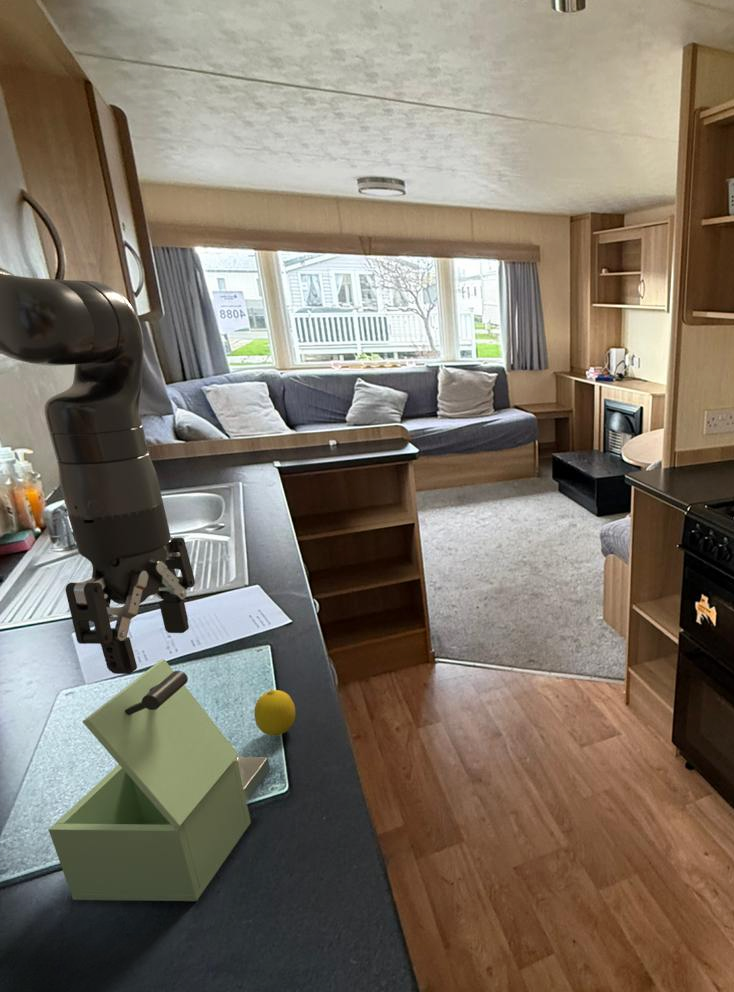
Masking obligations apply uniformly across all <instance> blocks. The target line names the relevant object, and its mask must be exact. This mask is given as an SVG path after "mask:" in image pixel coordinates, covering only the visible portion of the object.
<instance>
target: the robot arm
mask: <svg viewBox="0 0 734 992" xmlns="http://www.w3.org/2000/svg"><path fill="white" fill-rule="evenodd" d="M0 354H1V355H4V356H6V357H8V358H10V359H13V360H16V361H20V362H23V363H28V364H33V365H40V366H49V367H50V366H51V367H58V366H59V367H61V366H74V373H73V382H72V384H71V386H70V387H69V388H67V389H66V390H64V391H61V392H60V393H58V394H55V395H53V396H51V397H50V398H49V399H48V400H47V401H46V402H45V404H44V409H43V411H44V417H45V422H46V426H47V431H48V432H49V437H50V440H51V444H52V448H53V451H54V456H55V459H56V463H57V468H58V475H59V477H58V479H59V486H60V490H61V494H62V497H63V502H64V504H65V508H66V512H67V515H68V520H69V523H70V526H71V530H72V534H73V538H74V541H75V544H76V548H77V551H78V553H79V555H80V556H82V557H84V558H85V559H87V560H88V561H89V562H90V563H91V566H92V573H91V578H89V579H87V580H85V581H80V582H79V581H78V582H68V583H67V584H66V585H65V595H66V599H67V603H68V606H69V607H68V608H69V612H70V617H71V620H72V625H73V629H74V633H75V637H76V641H77V643H78V644H81V645H82V644H83V645H87V644H89V645H90V644H91V645H100V647H101V650H102V653H103V658H104V661H105V665H106V668H107V669H108V671H109V672H111V673H112V674H114V675H131V674H132V673H133V672H135V671H136V670H137V669H138V663H137V660H136V656H135V653H134V649H133V645H132V642H131V638H130V637H129V636H128V633H129V629H130V625H131V622H132V621H131V620H132V619H133V618H135V617H137V615H138V612H139V608H140V605H141V604H142V603H144V602H146V600H147V599H148V597H150V596H155V597H157V598H158V599H159V600H160V601H159V602H158V605H159V609H160V613H161V617H162V621H163V626H164V630H165V631H166V632H167V633H168V634H184V633H185V632H187V631H188V630H189V629H190V625H189V618H188V613H187V609H186V604H185V599H186V598H187V593H188V592H187V590H188V589H189V588H190V589H191V588H193V587H194V586H195V584H196V580H195V575H194V571H193V567H192V564H191V561H190V560H191V559H190V556H189V553H188V549H187V545H186V541H185V538H184V537H172V535H171V531H170V527H169V522H168V518H167V513H166V509H165V504H164V501H163V496H162V491H161V487H160V484H159V479H158V474H157V471H156V469H155V466H154V464H153V461H152V458H151V456H150V452H149V448H148V442H147V439H146V434H145V430H144V429H145V428H144V426H143V421H142V417H141V413H140V402H141V395H142V381H143V367H144V365H143V364H144V334H143V329H142V326H141V322H140V319H139V317H138V315H137V313H136V310H135V309H134V307H133V306H132V305H131V303H130V301H128V299H127V298H126V297H125V296H124V295H123V294H122V293H121V292H120V291H119V290H117V289H115V288H114V287H112V286H110V285H108V284H106V283H104V282H103V283H102V282H99V281H91V280H70V279H57V278H55V279H53V278H37V277H27V276H21V275H20V276H19V275H15V274H14V273H12V272H10V271H8V270H6V269H4V268H2V267H0ZM176 570H179V571H180V573H181V576H177V573H176ZM111 602H114V603H115V604H118V605H123V606H115V607H114V606H111ZM113 618H116V622H115V626H114V627H112V626H111V621H112V619H113ZM90 622H92V623H93V625H94V627H93V629H92V628H91V625H90Z"/></svg>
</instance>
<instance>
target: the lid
mask: <svg viewBox="0 0 734 992" xmlns="http://www.w3.org/2000/svg"><path fill="white" fill-rule="evenodd" d="M188 680H189V677H188V675H187V674H186V673H185V672H184V671H182V670H175V671H174V669H173V668H172V667H171V666H170V664H169V663H168V662H167V661H166V659H165V658H163V659H161V660H158V661H157V662H156V663H155V664H153V665H152V666H151V667H149V669H147V670H146V671H145V672H143V673H142V674H140V675H139V676H138V677H137V678H136V679H134V680H133V681H132V682H131V683H129V684H128V685H127V686H125V687H124V688H123V689H121V690H120V691H119V692H118V693H116V694H115V695H114V696H112V697H111V698H110V699H109V700H107V701H106V702H105V703H104V704H102V705H101V706H100V707H98V708H97V709H96V710H95V711H94V712H92V713H91V714H90V715H89V716H87V717H86V718H85V719H83V720H82V724H83V725H84V726H85V727H86V728H87V729H88V730H89V731H90V733H91V734H92V735H93V736H94V737H95V738H96V740H97V741H98V742H99V744H101V745H102V747H104V748H105V750H106V751H107V753H109V755H110V756H111V757H112V758H113V760H115V761H116V764H117V765H118V764H119V765H120V766H121V767H122V768H123V770H124V771H125V772H126V773H127V774H128V775H129V777H130V778H131V779H132V780H133V781H134V782H135V783H136V785H137V786H138V787H139V788H140V789H141V790H142V792H143V793H144V794H145V795H146V796H147V797H148V799H149V800H150V801H151V802H152V803H153V804H154V806H155V807H156V808H157V809H158V810H159V811H160V812H161V814H162V815H163V816H164V817H165V818H166V819H167V821H168V822H169V823H170V824H171V825H172V826H173V828H176V827H179V826H180V825H181V824H182V823H183V822H184V820H185V819H186V818H187V817H188V816H189V814H190V813H191V812H192V811H193V809H194V808H195V807H196V806H197V805H198V803H199V802H200V801H201V800H202V799H203V797H204V796H205V795H206V794H207V792H208V791H209V790H210V789H211V788H212V786H213V785H214V784H215V783H216V782H217V780H218V779H219V778H220V777H221V775H222V774H223V773H224V772H225V771H226V769H227V768H228V767H229V766H230V765H231V763H232V762H233V761H234V760H235V758H236V757H237V756H238V757H239V752H238V751H237V750H236V749H235V747H234V746H233V745H232V744H231V742H230V741H229V740H228V739H227V737H226V736H225V735H224V734H223V732H222V731H221V730H220V728H219V727H218V726H217V724H216V723H215V722H214V720H212V718H211V716H210V715H209V714H208V713H207V712H206V711H205V709H204V708H203V707H202V705H201V704H200V702H199V701H198V700H197V698H195V696H194V695H193V694H192V693H191V691H190V690H189V689H188V688H187V686H186V684H187V683H188Z"/></svg>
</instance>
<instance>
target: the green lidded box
mask: <svg viewBox="0 0 734 992" xmlns="http://www.w3.org/2000/svg"><path fill="white" fill-rule="evenodd" d="M248 807H249V806H248V801H247V802H246V798H245V793H244V789H243V784H242V780H241V775H240V770H239V766H238V761H237V759H235V760H234V761H233V762H232V763H231V765H230V766H229V767H228V768H227V769H226V771H225V772H224V773H223V774H222V775H221V777H220V778H219V779H218V780H217V782H216V783H215V784H214V785H213V786H212V788H211V789H210V790H209V791H208V792H207V794H206V795H205V796H204V797H203V799H202V800H201V801H200V802H199V803H198V805H197V806H196V807H195V808H194V809H193V811H192V812H191V813H190V814H189V816H188V817H187V818H186V819H185V820H184V822H183V823H182V824H181V825H180V826H179V827H176V828H173V826H172V825H171V824H170V823H169V822H168V821H167V819H166V818H165V817H164V816H163V815H162V814H161V812H160V811H159V810H158V809H157V808H156V807H155V806H154V804H153V803H152V802H151V801H150V800H149V799H148V797H147V796H146V795H145V794H144V793H143V792H142V790H141V789H140V788H139V787H138V786H137V785H136V783H135V782H134V781H133V780H132V779H131V778H130V777H129V775H128V774H127V773H126V772H125V771H124V770H123V768H122V767H121V766H120V765H119V764H118V763H117V765H116V766H115V767H114V768H113V769H112V770H110V772H109V773H107V774H106V775H105V776H104V777H103V778H102V779H101V780H100V781H99V782H98V783H97V784H95V785H94V787H92V788H91V789H90V790H89V791H88V792H87V793H86V794H85V795H83V797H82V798H80V799H79V800H78V801H77V802H76V803H75V804H74V805H73V806H72V807H71V808H70V809H69V810H68V811H67V812H66V813H64V814H63V815H62V816H61V817H60V818H59V819H58V820H57V821H56V822H55V823H53V825H52V826H51V827H49V828H48V832H49V835H50V839H51V841H52V844H53V847H54V849H55V852H56V856H57V858H58V861H59V864H60V867H61V870H62V872H63V875H64V878H65V881H66V884H67V886H68V888H69V892H70V895H71V897H72V900H73V901H141V902H142V901H143V902H144V901H145V902H146V901H149V902H153V901H154V902H155V901H156V902H197V901H198V900H199V898H200V897H201V896H202V894H203V893H204V891H205V890H206V889H207V887H208V886H209V884H210V883H211V881H212V880H213V878H214V877H215V875H216V874H217V873H218V871H219V870H220V868H221V867H222V866H223V864H224V862H225V861H226V859H227V858H228V856H229V855H230V854H231V852H232V851H233V849H234V848H235V846H236V845H237V844H238V842H239V841H240V840H241V838H242V836H243V835H244V834H245V832H246V831H247V829H248V828H249V826H251V824H252V821H251V817H250V812H249V808H248Z"/></svg>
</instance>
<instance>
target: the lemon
mask: <svg viewBox="0 0 734 992" xmlns="http://www.w3.org/2000/svg"><path fill="white" fill-rule="evenodd" d="M254 720H255V724H256V726H257V728H258V729H259V730H260V732H262V733H264V734H265V735H267V736H271V737H272V736H277V737H281V736H282V735H283V734H284V733H286V732H288V731H289V730H290V729H291V728H292V726H293V725H294V722H295V720H296V706H295V703H294V701H293V700H292V697H291V696H290V695H289V694H288V693H286V692H285V691H283V690H279V689H269V690H268V691H267V692H265V693H263V694H261V696H260V697H259V698H258V699H257V700H256V703H255V706H254Z"/></svg>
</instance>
